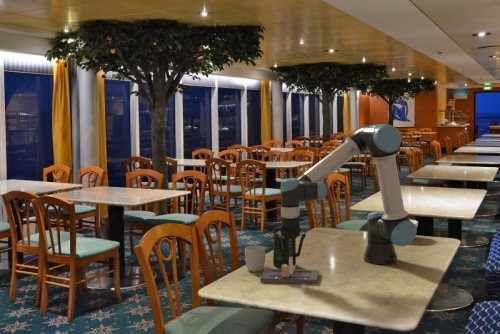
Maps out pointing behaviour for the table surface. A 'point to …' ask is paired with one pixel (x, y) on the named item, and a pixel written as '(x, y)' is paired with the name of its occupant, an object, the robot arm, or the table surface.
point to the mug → (255, 258)
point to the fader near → (285, 270)
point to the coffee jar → (277, 257)
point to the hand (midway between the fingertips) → (291, 272)
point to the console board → (290, 277)
